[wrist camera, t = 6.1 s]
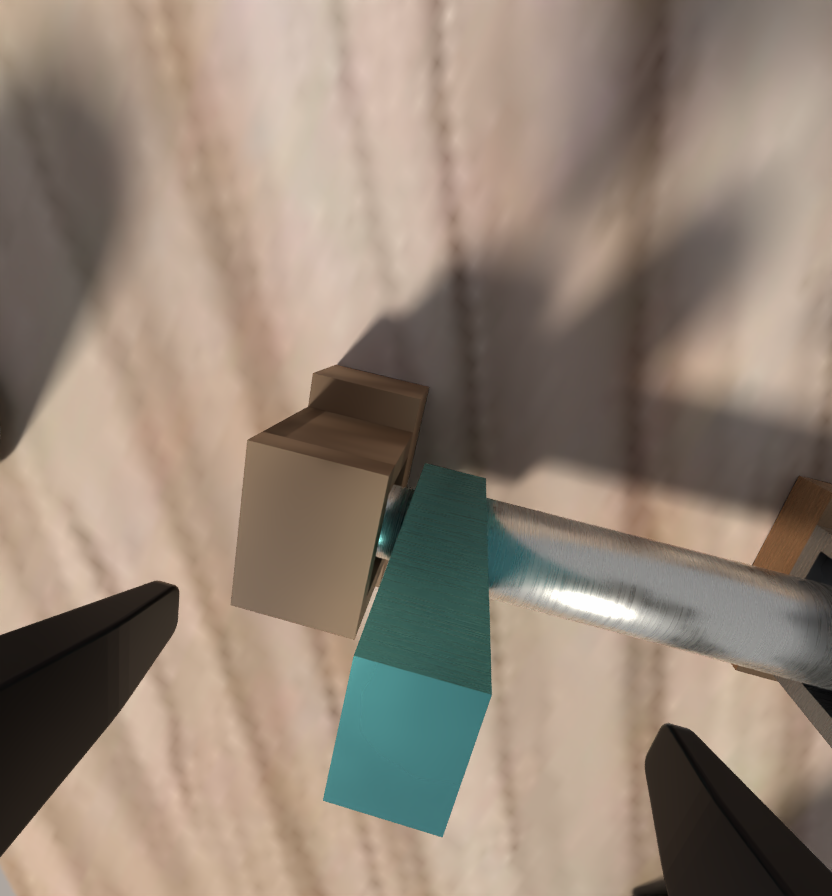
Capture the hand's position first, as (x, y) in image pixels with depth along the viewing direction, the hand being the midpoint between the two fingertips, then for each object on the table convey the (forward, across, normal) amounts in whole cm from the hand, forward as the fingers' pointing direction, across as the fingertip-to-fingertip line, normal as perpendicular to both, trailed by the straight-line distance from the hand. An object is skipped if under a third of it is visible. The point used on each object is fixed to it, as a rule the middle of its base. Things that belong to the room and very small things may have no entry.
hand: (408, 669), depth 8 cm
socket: (+10, +3, 0) cm, 10 cm away
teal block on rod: (+7, -6, 0) cm, 9 cm away
